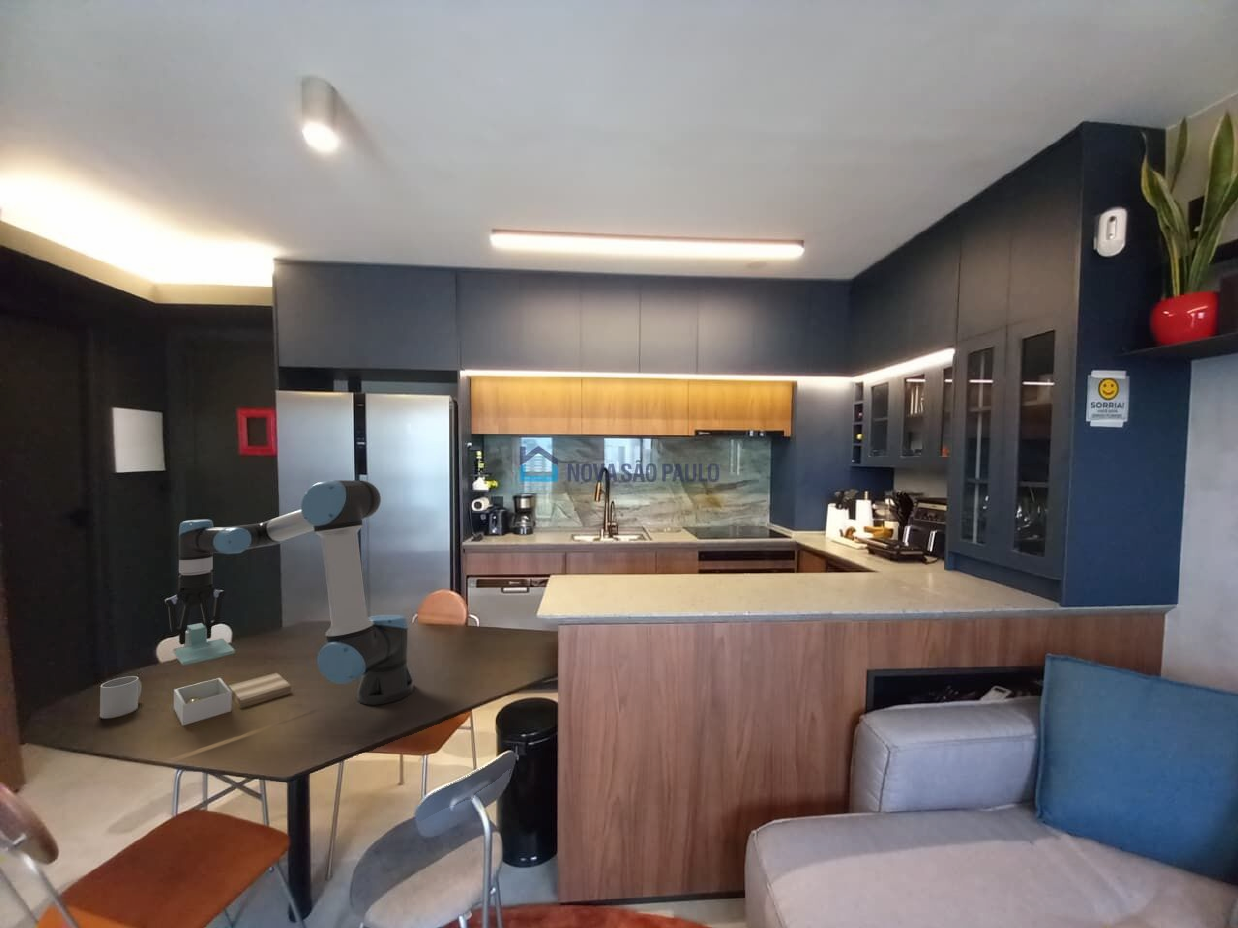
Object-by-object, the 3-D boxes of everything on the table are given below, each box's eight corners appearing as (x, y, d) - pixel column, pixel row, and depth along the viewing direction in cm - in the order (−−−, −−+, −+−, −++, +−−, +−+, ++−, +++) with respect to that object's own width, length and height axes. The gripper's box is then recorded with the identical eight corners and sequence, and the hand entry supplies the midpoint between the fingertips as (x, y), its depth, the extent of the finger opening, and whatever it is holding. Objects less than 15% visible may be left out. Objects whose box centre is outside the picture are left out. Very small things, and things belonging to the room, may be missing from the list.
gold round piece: (200, 707, 133) (200, 699, 133) (187, 711, 131) (187, 702, 131) (198, 704, 134) (198, 696, 135) (185, 708, 132) (185, 699, 132)
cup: (91, 722, 127) (92, 688, 127) (125, 703, 136) (126, 672, 137) (121, 720, 127) (122, 686, 128) (153, 702, 137) (154, 671, 137)
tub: (231, 713, 131) (231, 691, 131) (182, 728, 123) (182, 705, 123) (219, 697, 140) (220, 677, 140) (173, 711, 132) (174, 689, 132)
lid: (234, 655, 131) (235, 634, 131) (182, 667, 123) (182, 645, 123) (217, 638, 145) (217, 619, 145) (169, 648, 137) (169, 628, 137)
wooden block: (290, 695, 142) (290, 685, 142) (240, 710, 133) (240, 699, 133) (276, 681, 151) (276, 672, 151) (228, 695, 142) (228, 685, 142)
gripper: (227, 566, 149) (227, 641, 149) (155, 575, 137) (155, 657, 136) (233, 569, 144) (233, 647, 144) (159, 579, 132) (158, 664, 131)
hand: (195, 652), depth 140 cm, fingers closed on lid, 3 cm apart
